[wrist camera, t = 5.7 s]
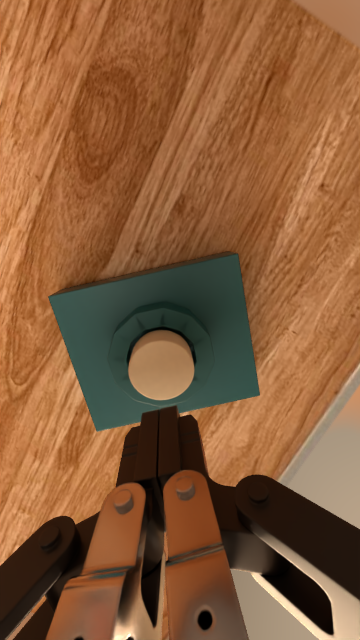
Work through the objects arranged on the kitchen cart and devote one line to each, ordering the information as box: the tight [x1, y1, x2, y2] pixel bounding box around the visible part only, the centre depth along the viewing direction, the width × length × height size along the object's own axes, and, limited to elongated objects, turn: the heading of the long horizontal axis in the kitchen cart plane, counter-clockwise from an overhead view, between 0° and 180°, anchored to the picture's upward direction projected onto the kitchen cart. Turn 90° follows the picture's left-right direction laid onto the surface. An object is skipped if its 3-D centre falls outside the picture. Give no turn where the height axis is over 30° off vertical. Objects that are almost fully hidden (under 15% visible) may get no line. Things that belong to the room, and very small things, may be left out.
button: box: [128, 330, 194, 400], centre depth 18 cm, size 4×4×2 cm
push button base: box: [48, 251, 260, 432], centre depth 21 cm, size 13×11×4 cm
